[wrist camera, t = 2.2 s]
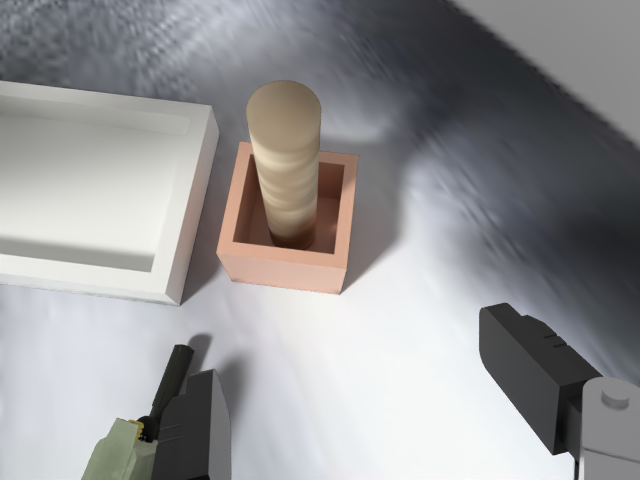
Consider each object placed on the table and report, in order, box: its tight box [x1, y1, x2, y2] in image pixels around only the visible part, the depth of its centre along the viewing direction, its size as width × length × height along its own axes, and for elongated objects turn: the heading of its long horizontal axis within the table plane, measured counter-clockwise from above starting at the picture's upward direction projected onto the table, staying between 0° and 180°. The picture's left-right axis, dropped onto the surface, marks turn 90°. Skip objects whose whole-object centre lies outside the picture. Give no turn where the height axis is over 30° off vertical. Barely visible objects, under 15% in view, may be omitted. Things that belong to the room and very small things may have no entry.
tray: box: [0, 81, 220, 306], centre depth 33 cm, size 20×14×4 cm
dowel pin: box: [246, 80, 321, 251], centre depth 26 cm, size 3×3×14 cm
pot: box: [216, 141, 359, 295], centre depth 31 cm, size 8×8×6 cm
